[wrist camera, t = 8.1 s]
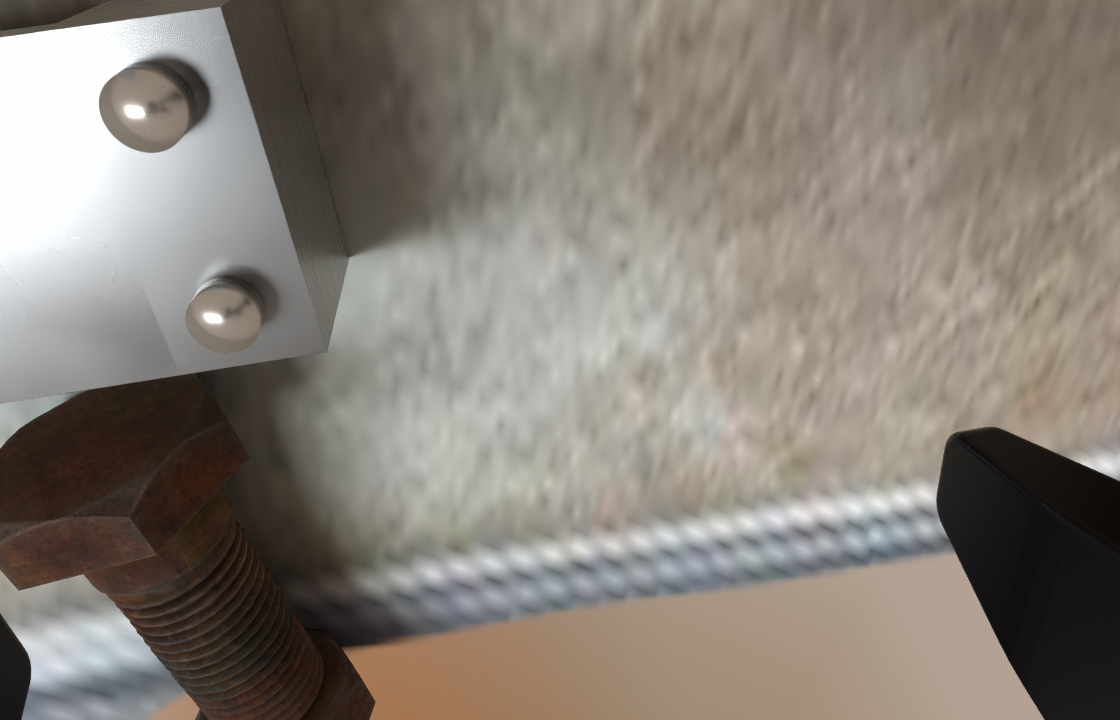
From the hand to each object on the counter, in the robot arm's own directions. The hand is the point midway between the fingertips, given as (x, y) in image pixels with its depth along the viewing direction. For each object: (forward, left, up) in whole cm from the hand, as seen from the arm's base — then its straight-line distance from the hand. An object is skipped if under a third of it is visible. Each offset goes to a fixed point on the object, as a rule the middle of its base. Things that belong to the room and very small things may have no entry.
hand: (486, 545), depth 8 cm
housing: (+8, -1, -12) cm, 14 cm away
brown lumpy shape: (+8, +12, -12) cm, 19 cm away
